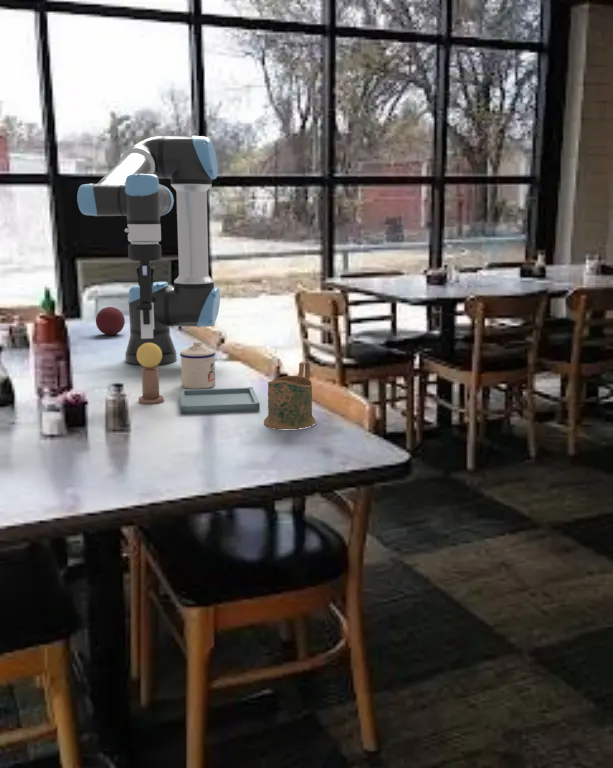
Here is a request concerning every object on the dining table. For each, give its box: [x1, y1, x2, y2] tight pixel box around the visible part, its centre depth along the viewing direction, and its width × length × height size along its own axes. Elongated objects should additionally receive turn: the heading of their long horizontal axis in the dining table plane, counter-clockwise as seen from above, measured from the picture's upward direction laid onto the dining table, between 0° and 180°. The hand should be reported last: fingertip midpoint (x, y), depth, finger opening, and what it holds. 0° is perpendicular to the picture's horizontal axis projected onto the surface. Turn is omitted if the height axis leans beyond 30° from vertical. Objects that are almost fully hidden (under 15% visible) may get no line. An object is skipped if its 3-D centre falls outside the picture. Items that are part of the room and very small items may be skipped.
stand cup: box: [138, 365, 165, 405], centre depth 192 cm, size 6×6×9 cm
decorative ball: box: [95, 306, 126, 336], centre depth 281 cm, size 10×10×10 cm
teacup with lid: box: [179, 341, 216, 390], centre depth 209 cm, size 12×9×12 cm
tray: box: [179, 386, 261, 415], centre depth 191 cm, size 16×18×2 cm
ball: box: [137, 343, 162, 368], centre depth 190 cm, size 6×6×6 cm
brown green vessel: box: [263, 361, 317, 430], centre depth 177 cm, size 12×18×12 cm, turn 161°
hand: (148, 333), depth 189 cm, fingers open, 13 cm apart
